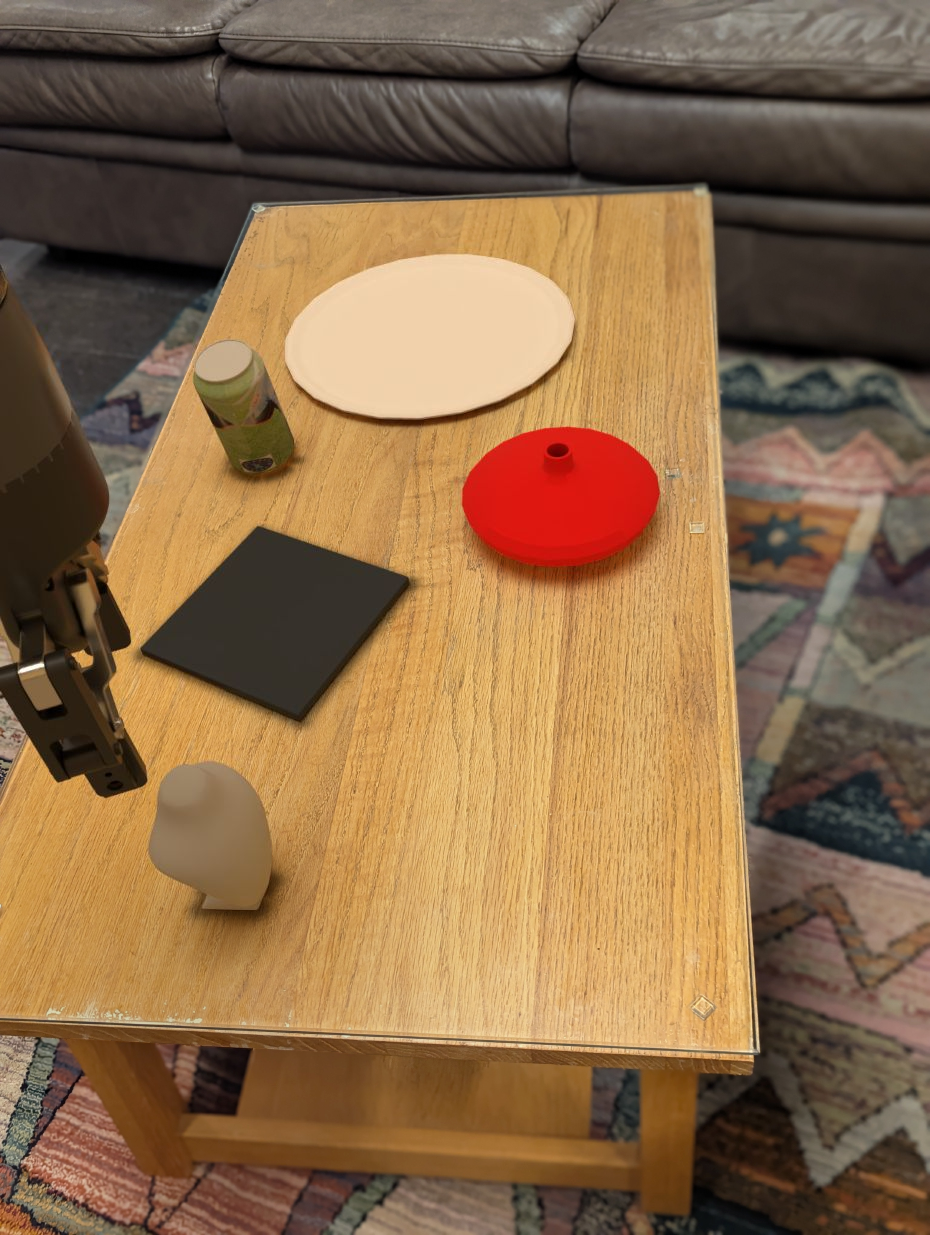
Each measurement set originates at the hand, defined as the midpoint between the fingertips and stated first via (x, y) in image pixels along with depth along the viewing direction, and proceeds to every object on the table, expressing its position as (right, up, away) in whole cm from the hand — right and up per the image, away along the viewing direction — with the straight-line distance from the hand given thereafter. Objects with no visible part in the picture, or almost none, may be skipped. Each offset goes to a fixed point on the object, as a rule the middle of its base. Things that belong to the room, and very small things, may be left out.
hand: (117, 712), depth 49 cm
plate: (+12, +32, +59) cm, 68 cm away
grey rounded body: (+2, -13, +18) cm, 23 cm away
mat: (+2, +4, +34) cm, 34 cm away
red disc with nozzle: (+24, +12, +39) cm, 47 cm away
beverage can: (-2, +18, +48) cm, 51 cm away
